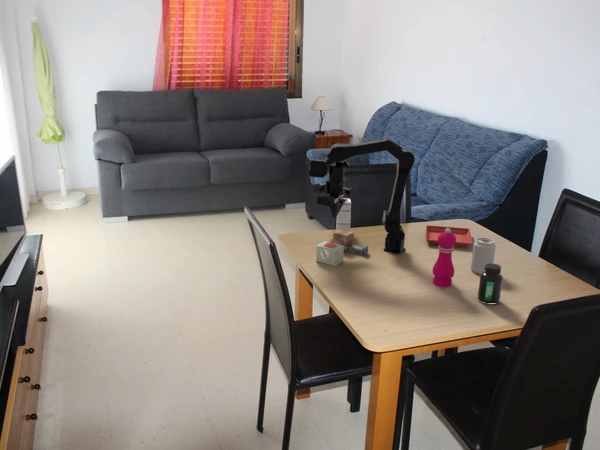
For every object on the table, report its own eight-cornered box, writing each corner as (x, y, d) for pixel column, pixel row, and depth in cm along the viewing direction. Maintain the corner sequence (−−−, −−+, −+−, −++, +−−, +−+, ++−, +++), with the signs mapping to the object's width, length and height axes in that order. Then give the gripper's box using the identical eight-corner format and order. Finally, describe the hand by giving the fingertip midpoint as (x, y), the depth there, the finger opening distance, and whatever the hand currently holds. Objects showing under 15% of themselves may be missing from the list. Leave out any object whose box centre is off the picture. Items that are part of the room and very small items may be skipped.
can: (493, 269, 216) (497, 238, 212) (490, 277, 209) (494, 245, 205) (472, 265, 219) (476, 235, 215) (468, 273, 212) (472, 241, 208)
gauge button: (335, 253, 219) (336, 243, 218) (331, 256, 217) (331, 245, 215) (328, 251, 221) (328, 241, 219) (323, 254, 218) (324, 243, 217)
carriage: (352, 247, 232) (353, 232, 230) (345, 251, 228) (346, 235, 226) (339, 244, 236) (340, 229, 233) (332, 247, 232) (333, 232, 230)
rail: (367, 253, 228) (368, 245, 227) (364, 255, 225) (364, 247, 224) (334, 244, 236) (335, 237, 235) (330, 246, 233) (330, 239, 232)
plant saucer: (424, 246, 237) (425, 238, 236) (425, 231, 254) (425, 224, 253) (471, 251, 234) (472, 243, 233) (469, 235, 250) (469, 228, 249)
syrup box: (350, 235, 246) (352, 202, 241) (335, 235, 246) (337, 201, 241) (349, 231, 251) (351, 198, 246) (335, 230, 251) (336, 197, 247)
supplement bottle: (490, 307, 187) (495, 272, 183) (472, 299, 192) (477, 264, 188) (503, 301, 191) (509, 267, 187) (486, 294, 196) (490, 260, 192)
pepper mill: (440, 289, 198) (446, 233, 192) (426, 281, 204) (432, 226, 198) (457, 285, 202) (464, 230, 195) (443, 277, 208) (449, 223, 201)
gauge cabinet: (343, 261, 220) (343, 245, 218) (333, 266, 215) (334, 250, 213) (324, 255, 224) (325, 241, 222) (315, 261, 219) (315, 245, 217)
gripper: (331, 170, 234) (329, 208, 240) (304, 179, 220) (303, 219, 225) (355, 174, 228) (353, 213, 234) (329, 184, 214) (328, 225, 219)
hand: (334, 217), depth 228 cm, fingers closed
